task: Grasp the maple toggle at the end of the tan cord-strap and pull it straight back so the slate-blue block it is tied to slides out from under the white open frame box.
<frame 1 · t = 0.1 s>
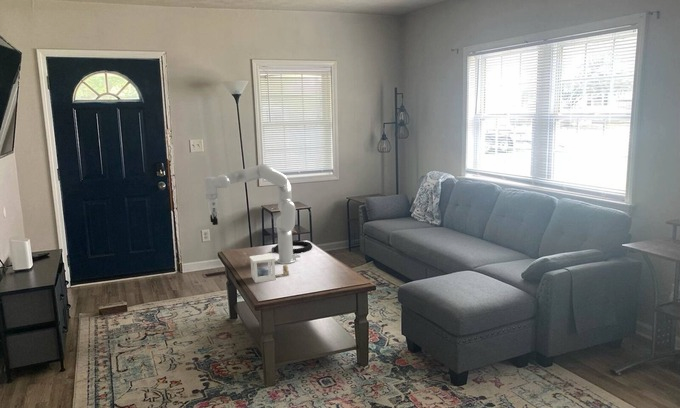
hand: (214, 223, 329), 31 cm above the table, fingers open, 9 cm apart
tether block: (262, 278, 314), on the table
white open frame box: (263, 278, 315), on the table
cable lock: (292, 250, 382), on the table
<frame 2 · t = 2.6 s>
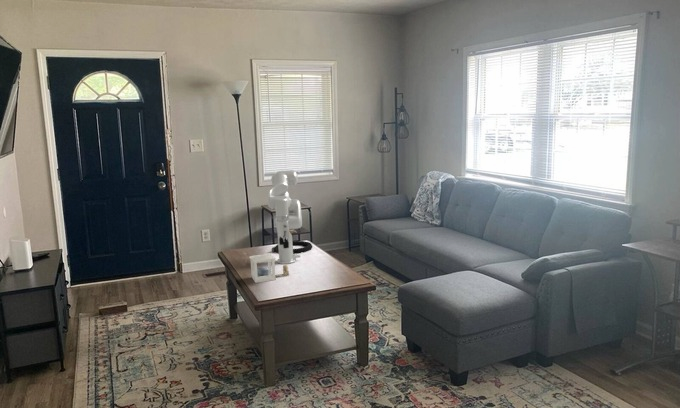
hand: (284, 246, 316), 18 cm above the table, fingers open, 9 cm apart
nothing on the table moved.
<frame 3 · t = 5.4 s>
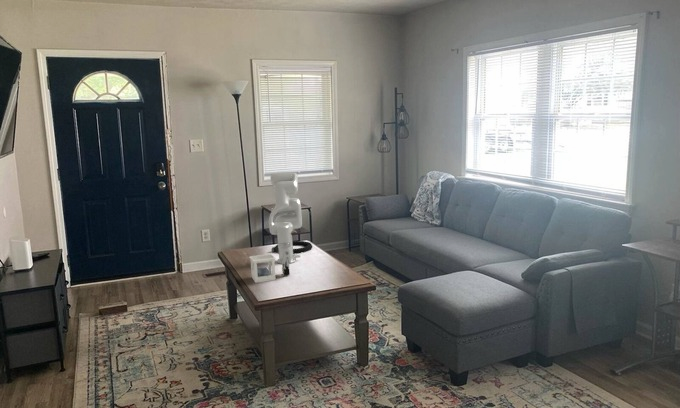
hand: (286, 273, 319), 1 cm above the table, fingers closed on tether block, 3 cm apart
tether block: (262, 278, 314), on the table, touching gripper
everything else where it was.
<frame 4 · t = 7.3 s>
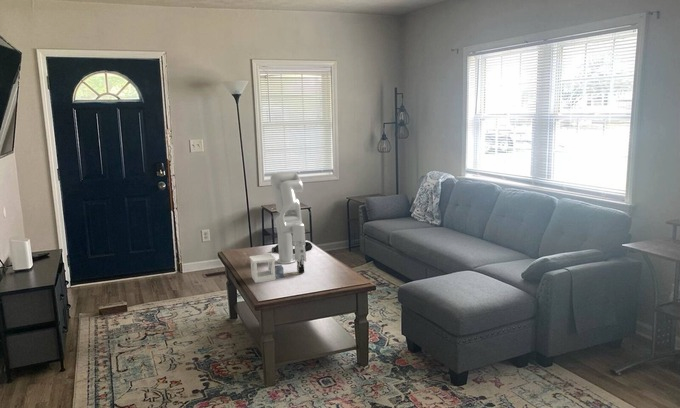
hand: (300, 271, 322), 1 cm above the table, fingers closed on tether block, 3 cm apart
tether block: (277, 276, 318), on the table, touching gripper
everything else where it was.
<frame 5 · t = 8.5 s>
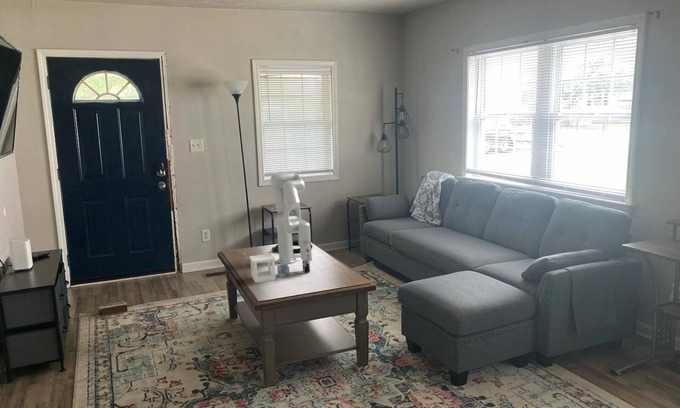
hand: (306, 270, 323), 1 cm above the table, fingers closed on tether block, 3 cm apart
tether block: (283, 275, 319), on the table, touching gripper
everything else where it was.
when the fingers open (1 cm above the table, at t = 9.1 s): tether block stays where it is, on the table.
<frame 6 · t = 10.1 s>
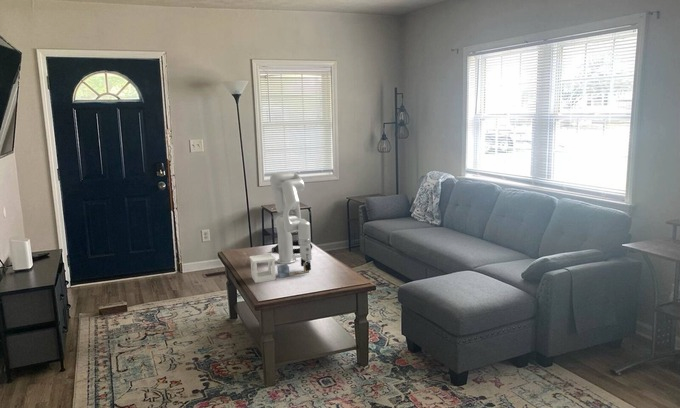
hand: (305, 268, 324), 2 cm above the table, fingers open, 9 cm apart
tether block: (283, 275, 319), on the table
everything else where it was.
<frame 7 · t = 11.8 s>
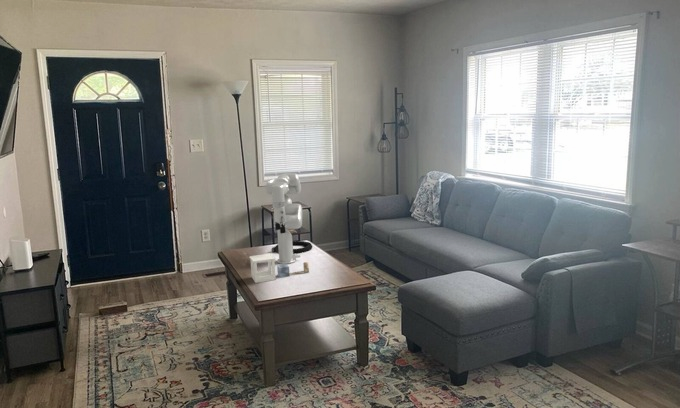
hand: (280, 231, 326), 25 cm above the table, fingers open, 9 cm apart
nothing on the table moved.
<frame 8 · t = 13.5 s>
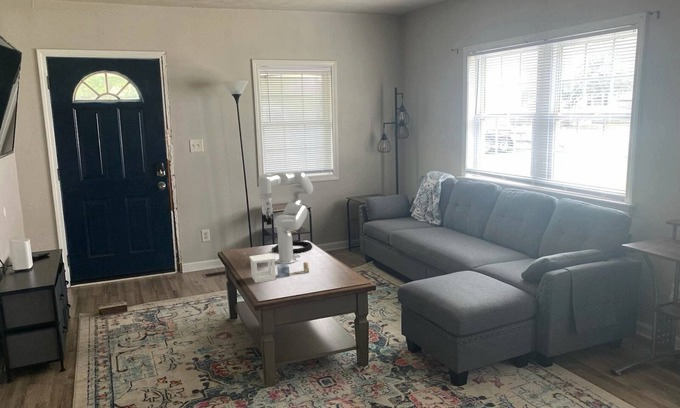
hand: (267, 223, 327), 30 cm above the table, fingers open, 9 cm apart
nothing on the table moved.
at the end: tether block inside the target area on the table beside the white open frame box (6.8 cm from its centre), on the table; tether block tilted 0°; the gripper is holding nothing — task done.
